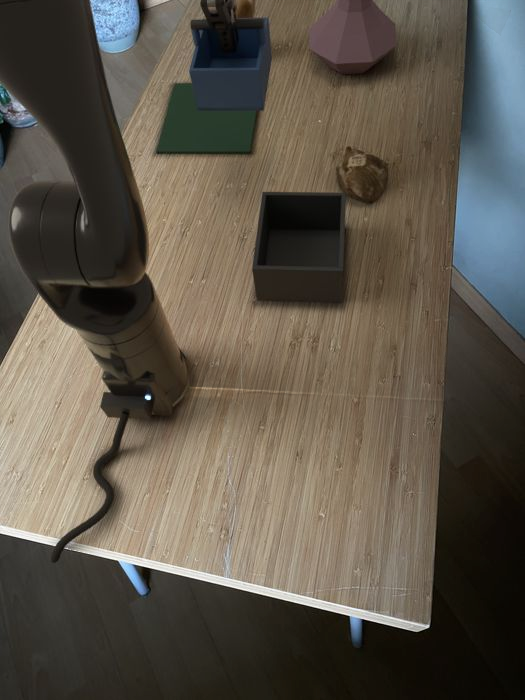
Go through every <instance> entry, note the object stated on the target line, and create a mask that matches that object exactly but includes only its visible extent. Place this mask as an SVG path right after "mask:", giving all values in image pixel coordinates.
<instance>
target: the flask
mask: <svg viewBox="0 0 525 700" xmlns="http://www.w3.org/2000/svg"><path fill="white" fill-rule="evenodd" d="M397 46H398V37H397V28H396V23H395V22H394V21H393V20H392V19H391V18H390V17H389V16H388V15H387V14H386V13H384V11H383V10H381V8H379V6H378V5H377V3H375V1H374V0H336V1H335V2H334V3H333V5H332V6H331V7H330V8H329V9H328V10H327V11H326V13H324V14H323V15H322V16H321V17H320V18H319V19H317V21H316V22H314V24H312V26H311V27H309V47H308V50H309V51H310V52H312V54H313V55H315V57H317V58H318V59H319V60H320V61H322V62H323V63H324V64H325V65H326V66H327V67H329V68H331V69H332V70H334V71H336V72H338V73H339V74H341V75H353V74H354V75H355V74H363V73H365V72H366V71H368V70H369V69H370V68H372V67H373V66H375V65H376V64H378V63H379V62H380V61H381V60H382V59H383V58H384V57H385V56H387V55H388V54H389V53H390V52H391V51H392V50H394V48H396V47H397Z"/></svg>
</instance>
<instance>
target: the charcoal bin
mask: <svg viewBox="0 0 525 700" xmlns="http://www.w3.org/2000/svg"><path fill="white" fill-rule="evenodd" d="M346 203H347V194H346V193H345V192H336V191H335V192H325V191H323V192H321V191H319V192H317V191H262V192H261V200H260V207H259V214H258V222H257V229H256V238H255V245H254V250H253V251H254V252H253V260H252V266H251V271H252V277H253V282H254V289H255V296H256V300H257V302H258V301H261V302H287V303H288V302H290V303H291V302H292V303H293V302H294V303H323V304H325V303H326V304H342V300H343V285H344V284H343V281H344V263H345V262H344V260H345V235H346V233H345V232H346V208H347V206H346V205H347V204H346Z"/></svg>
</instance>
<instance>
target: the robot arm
mask: <svg viewBox="0 0 525 700" xmlns="http://www.w3.org/2000/svg"><path fill="white" fill-rule="evenodd" d="M237 3H238V2H237V0H200V1H199V4H200V5H199V6H200V7H201V11H202V13H203V15H204V17H205V19H206V20H207V22H208V24H209V26H210V29H211V30H217V35H218V41H219V48H220V51H221V52H222V53H235V52H236V51H237V43H238V41H239V33H238V30H235V25H234V23H235V19H237V17H236V13H237V9H238V5H237ZM98 39H99V38H98V34H97V28H96V23H95V18H94V14H93V8H92V3H91V0H0V85H2V88H4V89H5V90H6V91H7V92H8V93H9V94H10V95H11V96H12V97H13V98H14V99H15V100H16V101H17V102H18V103H19V104H20V105H21V106H22V107H23V108H24V109H25V110H26V111H27V112H28V114H30V116H31V117H32V118H33V119H34V120H35V121H36V123H38V124H39V125H40V127H41V128H42V129H43V130H44V131H45V133H46V134H47V136H48V137H49V138H50V140H51V141H52V142H53V144H54V145H55V147H56V149H57V150H58V151H59V153H60V155H61V156H62V159H63V160H64V162H65V164H66V166H67V168H68V170H69V173H70V175H71V177H72V180H73V181H69V180H35V181H32V182H29V183H28V184H27V183H26V184H25V185H23V187H21V188H20V189H19V190H18V191H17V193H16V194H15V196H14V198H13V200H12V202H11V205H10V208H9V212H8V222H7V225H8V226H7V229H8V237H9V241H10V246H11V249H12V253H13V255H14V258H15V260H16V263H17V264H18V266H19V269H20V270H21V272H22V273H23V275H24V277H25V279H27V281H28V283H29V284H30V285H31V286H32V288H33V289H34V290H35V292H36V293H37V294H38V295H39V296H40V298H42V300H43V301H44V303H45V304H46V305H47V306H48V307H49V308H50V310H51V311H52V312H53V313H54V315H55V316H56V317H57V318H58V320H60V321H61V322H62V323H63V324H64V325H66V326H68V327H70V329H71V328H72V329H74V330H75V331H76V332H77V333H78V336H80V338H81V339H82V341H83V342H84V344H85V346H86V347H87V349H88V350H89V351H90V353H91V355H92V356H93V358H94V359H95V361H96V362H97V364H98V365H99V367H100V368H101V369H102V371H103V372H102V376H101V381H102V382H103V383H104V385H105V386H106V387H107V389H108V391H104V392H103V393H102V396H101V397H102V398H101V402H100V405H99V408H100V409H101V410H102V411H103V413H104V414H105V416H106V417H107V418H109V419H110V418H112V419H119V420H118V423H117V425H116V428H115V432H114V435H113V439H112V445H111V446H110V449H109V450H108V451H107V452H105V453H104V454H102V455H101V456H100V457H99V458H98V459H97V460H95V461H96V462H95V463H94V465H93V469H92V473H93V475H92V476H93V477H94V481H96V483H97V484H98V485H99V486H100V488H101V489H102V490H103V492H104V493H105V499H104V502H103V504H102V505H101V507H100V508H99V509H98V511H97V512H96V513H94V514H93V515H92V516H90V517H89V518H88V519H86V520H85V521H83V522H81V523H80V524H79V525H77V526H75V527H74V528H72V529H71V530H70V531H68V532H67V533H65V534H64V535H63V536H62V537H61V538H60V539H59V540H58V541H57V543H56V544H55V546H54V547H53V550H52V552H51V556H50V562H51V563H52V564H56V563H57V562H59V560H60V558H61V555H62V553H63V551H64V549H65V548H66V547H67V545H68V544H70V543H71V542H72V541H73V540H74V539H76V538H77V537H79V536H80V535H82V534H83V533H85V532H86V531H89V530H90V529H91V528H92V527H94V526H95V525H96V524H98V523H99V522H100V521H101V520H103V519H104V518H105V516H106V515H107V514H108V513H109V511H110V510H111V508H112V505H113V502H114V500H115V491H114V487H113V486H112V485H111V483H110V482H109V481H108V480H107V478H106V477H105V476H104V475H103V473H102V468H103V466H104V465H105V464H107V463H108V462H109V461H111V460H112V459H113V458H115V457H116V455H117V454H118V452H119V451H120V448H121V443H122V440H123V436H124V433H125V430H126V427H127V424H128V420H147V421H150V420H152V416H165V417H166V416H167V417H170V416H172V415H173V410H174V408H175V407H176V406H177V405H178V404H180V402H182V400H183V399H184V398H185V396H186V395H187V392H188V390H189V385H190V370H189V368H188V365H187V362H188V360H187V357H186V356H185V354H184V353H183V351H182V350H181V348H180V347H179V345H178V343H177V339H176V338H175V335H174V333H173V330H172V328H171V325H170V323H169V321H168V318H167V315H166V314H165V310H164V308H163V306H162V303H161V300H160V298H159V296H158V293H157V291H156V288H155V285H154V283H153V281H152V279H151V277H150V276H149V275H148V272H146V271H147V267H148V265H149V258H150V257H149V256H150V236H149V227H148V222H147V217H146V211H145V207H144V203H143V200H142V197H141V193H140V189H139V185H138V183H137V179H136V176H135V173H134V169H133V167H132V163H131V160H130V157H129V154H128V151H127V148H126V145H125V141H124V138H123V135H122V131H121V128H120V126H119V122H118V119H117V115H116V112H115V108H114V104H113V100H112V96H111V92H110V88H109V84H108V79H107V75H106V70H105V66H104V62H103V58H102V53H101V48H100V44H99V40H98Z"/></svg>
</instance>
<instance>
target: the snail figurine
mask: <svg viewBox="0 0 525 700" xmlns="http://www.w3.org/2000/svg"><path fill="white" fill-rule="evenodd" d="M237 5H238V9H237V13H236V17H237V18H255V12H256V0H238V2H237Z"/></svg>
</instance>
